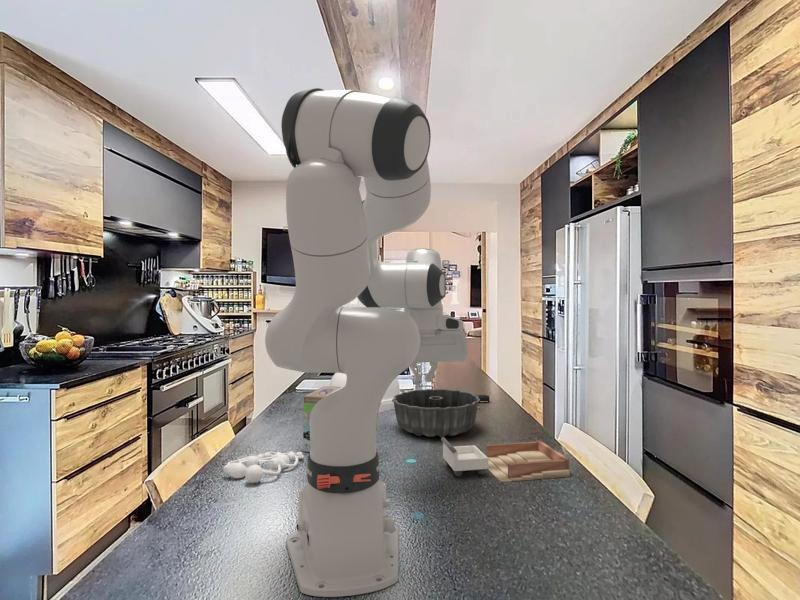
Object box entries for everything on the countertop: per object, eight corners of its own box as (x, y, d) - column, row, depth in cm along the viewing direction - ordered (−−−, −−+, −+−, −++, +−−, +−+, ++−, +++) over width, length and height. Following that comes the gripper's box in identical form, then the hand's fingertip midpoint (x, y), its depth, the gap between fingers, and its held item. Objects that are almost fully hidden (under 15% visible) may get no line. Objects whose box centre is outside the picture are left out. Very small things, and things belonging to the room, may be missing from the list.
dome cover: (314, 398, 185) (314, 362, 185) (384, 391, 198) (384, 358, 198) (339, 417, 156) (339, 375, 156) (418, 408, 169) (419, 369, 169)
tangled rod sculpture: (276, 456, 123) (275, 440, 123) (318, 462, 115) (317, 445, 115) (212, 479, 106) (212, 461, 106) (257, 488, 99) (256, 468, 99)
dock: (571, 476, 106) (571, 460, 106) (500, 482, 102) (500, 465, 102) (537, 452, 121) (537, 438, 121) (475, 457, 118) (475, 442, 118)
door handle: (496, 405, 163) (487, 393, 179) (439, 406, 163) (435, 393, 179) (496, 415, 164) (487, 401, 180) (439, 415, 163) (435, 402, 179)
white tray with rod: (488, 475, 106) (488, 447, 105) (452, 478, 104) (452, 449, 104) (474, 461, 114) (474, 435, 114) (440, 464, 113) (441, 437, 113)
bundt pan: (380, 438, 133) (380, 403, 133) (406, 415, 158) (406, 386, 158) (472, 448, 125) (472, 410, 125) (484, 422, 151) (485, 391, 150)
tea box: (338, 455, 120) (338, 397, 119) (301, 452, 122) (301, 395, 121) (355, 437, 134) (355, 386, 134) (322, 435, 136) (322, 384, 136)
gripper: (380, 322, 102) (380, 386, 102) (470, 321, 106) (469, 382, 106) (376, 320, 108) (376, 380, 108) (461, 320, 112) (461, 377, 112)
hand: (423, 381), depth 107 cm, fingers closed
